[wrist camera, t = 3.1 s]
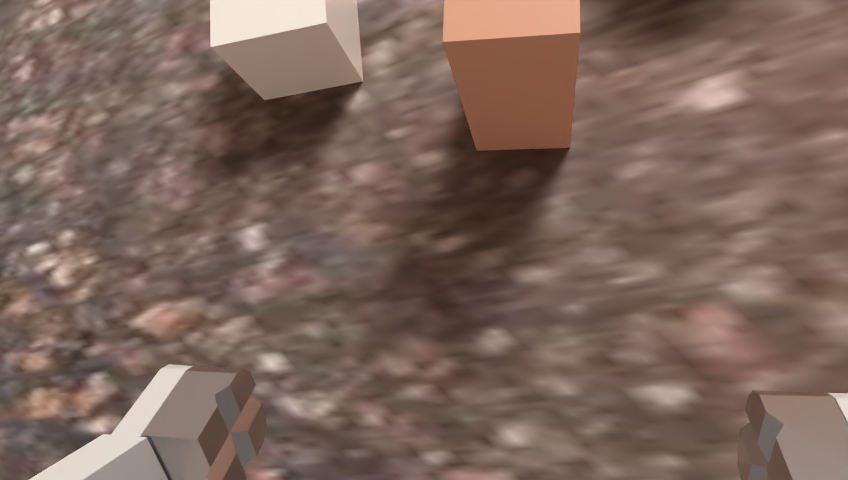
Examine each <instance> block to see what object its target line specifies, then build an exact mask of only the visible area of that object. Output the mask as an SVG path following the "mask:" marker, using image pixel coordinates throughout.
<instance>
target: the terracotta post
mask: <svg viewBox="0 0 848 480" xmlns="http://www.w3.org/2000/svg"><path fill="white" fill-rule="evenodd" d="M579 40H580V0H445V1H444V27H443V44H444V47H445V50H446V54H447V57H448V60H449V63H450V66H451V70H452V73H453V76H454V79H455V82H456V86H457V89H458V92H459V95H460V99H461V102H462V105H463V108H464V111H465V115H466V118H467V121H468V124H469V128H470V131H471V134H472V137H473V140H474V144H475V147H476V150H477V151H482V150H514V149H546V148H570V141H571V130H572V119H573V107H574V96H575V85H576V74H577V62H578V51H579Z"/></svg>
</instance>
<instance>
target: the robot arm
mask: <svg viewBox="0 0 848 480" xmlns="http://www.w3.org/2000/svg"><path fill="white" fill-rule="evenodd" d="M255 385H256V384H255V382H254V379H253V377H252V374H251V372H250V371H248V370H245V369H235V368H220V367H206V366H184V365H170V364H169V365H167V366H165V367H163V368H162V369H160V370H159V372H158V373H157V374H156V376H155V377H154V378H153V380H152V381H151V382H150V384H149V385H148V386H147V388H146V389H145V390H144V392H143V393H142V394H141V396H140V397H139V398H138V400H137V401H136V402H135V404H134V405H133V406H132V407H131V409H130V410H129V411H128V413H127V414H126V415H125V417H124V418H123V419H122V421H121V422H120V423H119V425H118V426H117V427H116V429H115V430H114V431H113V433H112V434H111V435H108V434H103V435H101V436H100V437H98V438H96V439H95V440H93V441H91V442H90V443H88V444H87V445H85V446H83V447H82V448H80V449H78V450H77V451H75V452H73V453H72V454H70V455H69V456H67V457H65V458H64V459H62V460H60V461H59V462H57V463H55V464H54V465H52V466H51V467H49V468H47V469H46V470H44V471H42V472H41V473H39V474H37V475H36V476H34V477H33V478H31V479H29V480H246V475H245V471H244V466H245V465H246V464H247V463H249V462H250V461H251V460H253V459H254V458H255V457H257V455H258V453H259V450H260V448H261V446H262V444H263V441H264V435H265V430H266V415H265V411H264V408H263V405H262V403H261V402H260V401H259V400H258V399H257V398H256V397H254V396H253V395H252V394H251V393H252V391H253V389H254V387H255ZM745 409H746V412H747V415H748V418H749V421H750V423H748V424H747V425H746V426H744V427H743V428H742V429H740V435H739V440H738V466H739V472H740V477H741V480H848V394H845V393H827V394H825V393H813V392H784V391H754V390H753V391H752V392H751V394H750V395H749V396H748V400H747V404H746V408H745Z"/></svg>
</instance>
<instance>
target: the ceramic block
mask: <svg viewBox="0 0 848 480" xmlns="http://www.w3.org/2000/svg"><path fill="white" fill-rule="evenodd" d="M210 31H211V48H212V49H213V50H214V51H215V52H216V53H217V54H218V55H219V56H220V57H221V58H222V59H223V60H224V61H225V62H226V63H227V64H228V65H229V66H230V67H231V68H232V69H233V70H234V71H235V72H236V73H237V74H238V75H239V76H240V77H241V78H242V79H243V80H244V81H245V82H246V83H247V84H248V85H249V86H250V87H251V88H252V89H253V90H254V91H255V92H257V93H258V94H259V95H260V96H261V97H262V98H263V99H264V100H269V99H274V98H279V97H284V96H289V95H295V94H300V93H305V92H310V91H316V90H321V89H326V88H331V87H336V86H342V85H347V84H352V83H357V82H363V73H362V61H361V49H360V36H359V24H358V11H357V0H210Z"/></svg>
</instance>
